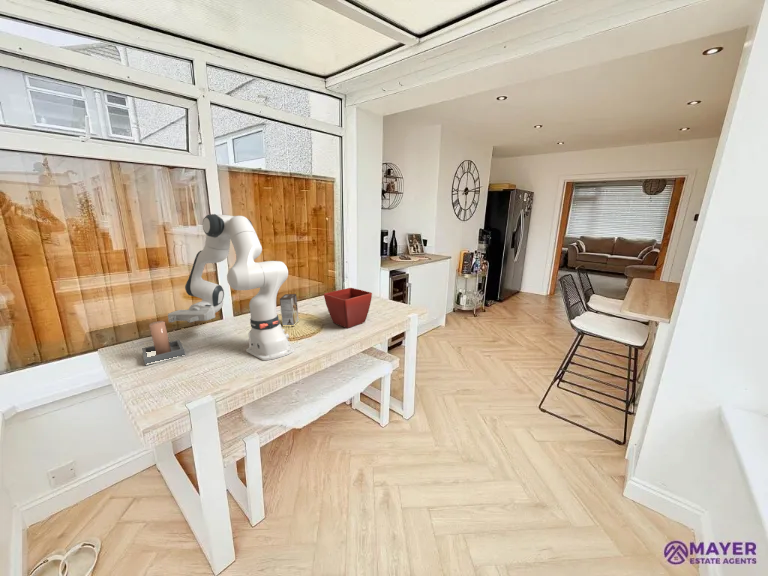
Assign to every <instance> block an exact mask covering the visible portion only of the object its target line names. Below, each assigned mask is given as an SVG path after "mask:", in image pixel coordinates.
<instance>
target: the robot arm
mask: <svg viewBox="0 0 768 576" xmlns="http://www.w3.org/2000/svg"><path fill="white" fill-rule="evenodd" d="M253 226H254V225H253V223H252V221H251V220H250V218H247V217H246V216H244V215H229V214H215V213H214V214H213V213H211V214H207V215H206V216H204V218H203V220H202V229H203V230H202V231H203V232H204V234H205V235H206V237H205V242H204V247H203V249H202V250H199V251H198V252H197V254H196V256H195V258H194V260H193V264H192V267H191V270H190V274H189V276H188V278H187V281H186V283H185V285H184V289H185V292H186V294H187V295H188V296H191V297H194V298H198V299H201V301H198V302H196V303H194V304H192V305H190V306H189V308H188V309H178V310H175V311H171V312H169V313H168V314H167V318H168V319H167V320H168V323H174V322H186V321H187V323H193V322H206V321H210V320H212V319H215V318H216V313H217V312H219V311H220V310H221V309H222V308H223V306H224V298H225V290H224V289H223V288H224V287H223V286H222V285H220V284H217V283H215V282H211V281H209V280H205V279H203V277H202V276H203V272H204V269H205V265H206V264H217V263H221V262H223V261H225V260H226V259H227V258H228V256H229V254H230V247H231V243H232V246H233V249H234V252H235V256H236V257H235V262H234V264H233V266H231V267H230V268H229V270H228V271H227V275H226V280H227V283H228V286H229V287H230V288H231V289H233V290H235V291H251V290H254V289H255V290H256V289H259V290H258V292H257V294H256V295H253V297H252V298H251V299H250V301H249V302H248V303H249V304H248V305H249V313H250V318H249V320H250V327H251V329H250V330H249V331H248V344H249V347H247V348H246V353H248V354H250V355H252V356H254V357H255V358H258V359H259V360H262V361H268V360H269V361H270V360H275V359H278V358H282V357H284V356H287V355H290V354H292V353H293V352H294V350H295V349H294V347H293V345H292V344H291V342H290V341H289V338H290V335H289V333H285V330H286V329H285V328H283V326H282V325H281V322H280V318H279V315H278V312H277V311H278V310H277V295H278V293H279V290H280V288H281V287H282V286H283V284H284V283H285V282H286V281H287V279H288V277H289V270H288V267H287V265H286V264H285V262H283V261H282V260H281V261H280V260H268V261H267V260H266V261H260V262H257V261H256V262H255V260H256V259H257V258H258V257H260V255H261V254H262V252H263V247H262V244H261V242H260V239H259V236H258V235H257V232H256V230H255V228H254V227H253Z"/></svg>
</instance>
